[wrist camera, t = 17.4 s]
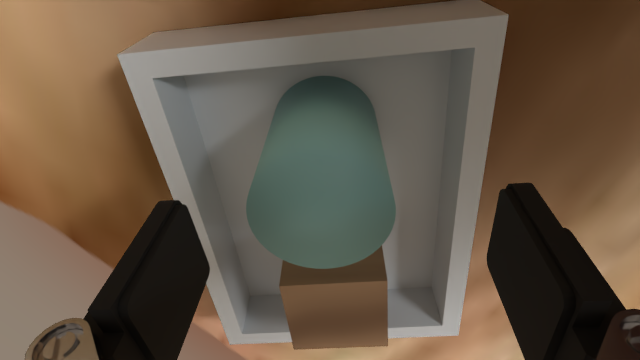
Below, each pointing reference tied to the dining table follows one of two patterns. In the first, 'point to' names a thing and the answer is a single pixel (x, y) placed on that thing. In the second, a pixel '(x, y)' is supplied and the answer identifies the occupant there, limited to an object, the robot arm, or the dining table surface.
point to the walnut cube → (337, 304)
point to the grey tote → (394, 127)
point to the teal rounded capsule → (322, 178)
